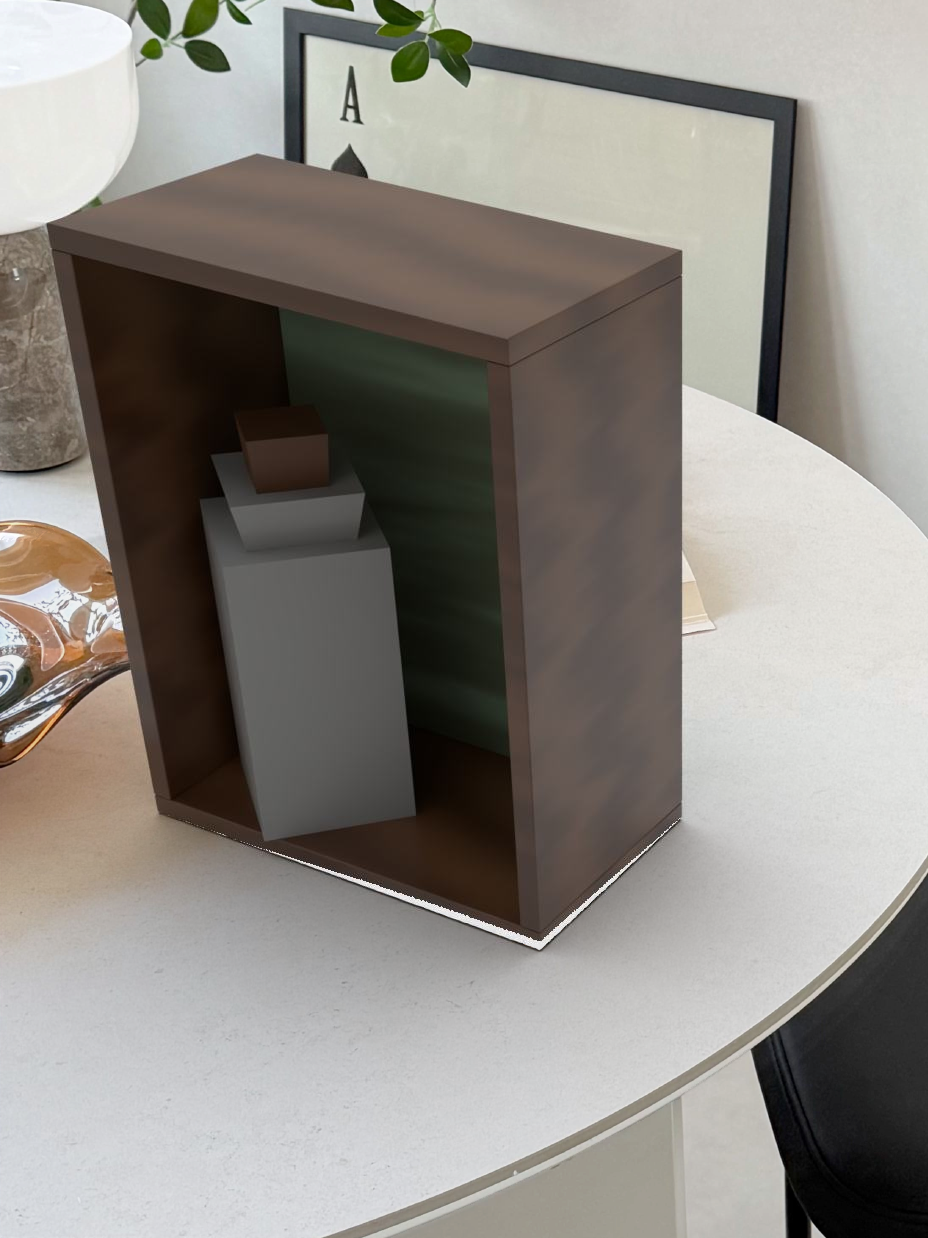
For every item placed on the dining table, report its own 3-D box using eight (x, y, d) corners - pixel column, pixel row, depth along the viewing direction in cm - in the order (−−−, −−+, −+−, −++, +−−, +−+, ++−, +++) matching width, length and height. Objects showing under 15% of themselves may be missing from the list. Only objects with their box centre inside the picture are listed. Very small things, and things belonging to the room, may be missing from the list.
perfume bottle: (416, 815, 90) (379, 446, 79) (264, 841, 87) (206, 463, 77) (385, 741, 95) (347, 384, 84) (241, 764, 92) (183, 399, 82)
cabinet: (540, 952, 84) (507, 338, 68) (157, 812, 90) (45, 222, 75) (682, 818, 93) (683, 249, 77) (324, 700, 99) (256, 152, 83)
